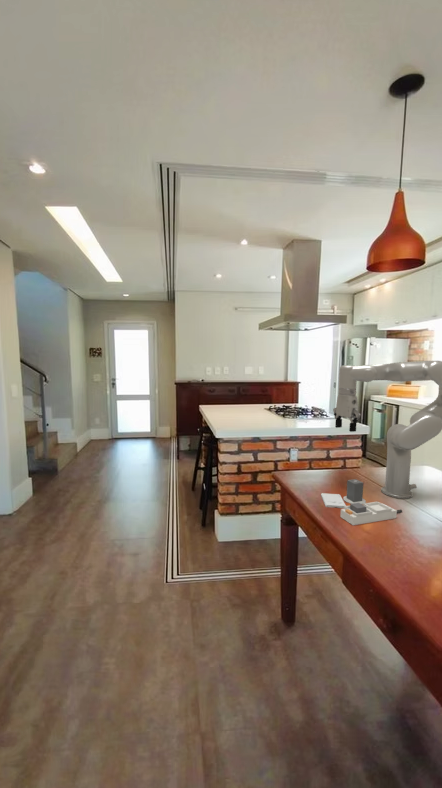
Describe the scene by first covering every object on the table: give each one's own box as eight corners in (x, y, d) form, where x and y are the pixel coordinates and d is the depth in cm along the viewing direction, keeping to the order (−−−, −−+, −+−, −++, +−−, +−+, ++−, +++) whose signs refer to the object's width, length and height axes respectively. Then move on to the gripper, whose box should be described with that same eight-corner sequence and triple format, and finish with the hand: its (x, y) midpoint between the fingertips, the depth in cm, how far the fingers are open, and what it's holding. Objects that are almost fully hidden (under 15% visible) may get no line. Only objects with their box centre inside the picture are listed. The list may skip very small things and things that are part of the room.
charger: (355, 496, 147) (355, 478, 147) (362, 500, 143) (363, 482, 142) (346, 498, 146) (347, 479, 145) (353, 502, 142) (354, 483, 141)
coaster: (355, 495, 150) (355, 494, 150) (370, 503, 142) (370, 502, 142) (338, 497, 147) (338, 496, 147) (352, 505, 139) (352, 505, 139)
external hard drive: (340, 497, 149) (346, 509, 137) (320, 496, 150) (325, 508, 138) (340, 494, 149) (346, 505, 136) (321, 493, 150) (325, 504, 138)
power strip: (394, 508, 137) (394, 495, 136) (408, 516, 130) (409, 502, 130) (340, 516, 129) (341, 503, 128) (352, 525, 122) (353, 511, 122)
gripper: (367, 394, 147) (365, 432, 148) (341, 390, 163) (339, 425, 165) (353, 394, 144) (351, 433, 146) (328, 390, 161) (326, 426, 162)
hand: (345, 429), depth 155 cm, fingers open, 9 cm apart
